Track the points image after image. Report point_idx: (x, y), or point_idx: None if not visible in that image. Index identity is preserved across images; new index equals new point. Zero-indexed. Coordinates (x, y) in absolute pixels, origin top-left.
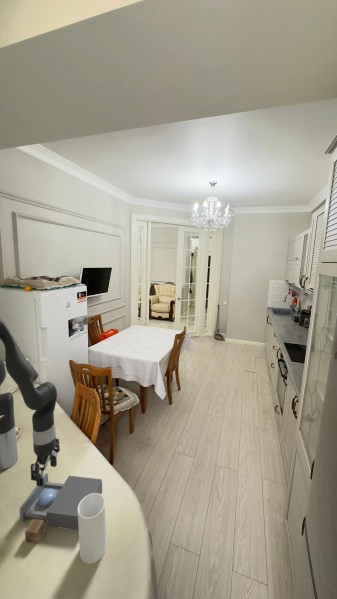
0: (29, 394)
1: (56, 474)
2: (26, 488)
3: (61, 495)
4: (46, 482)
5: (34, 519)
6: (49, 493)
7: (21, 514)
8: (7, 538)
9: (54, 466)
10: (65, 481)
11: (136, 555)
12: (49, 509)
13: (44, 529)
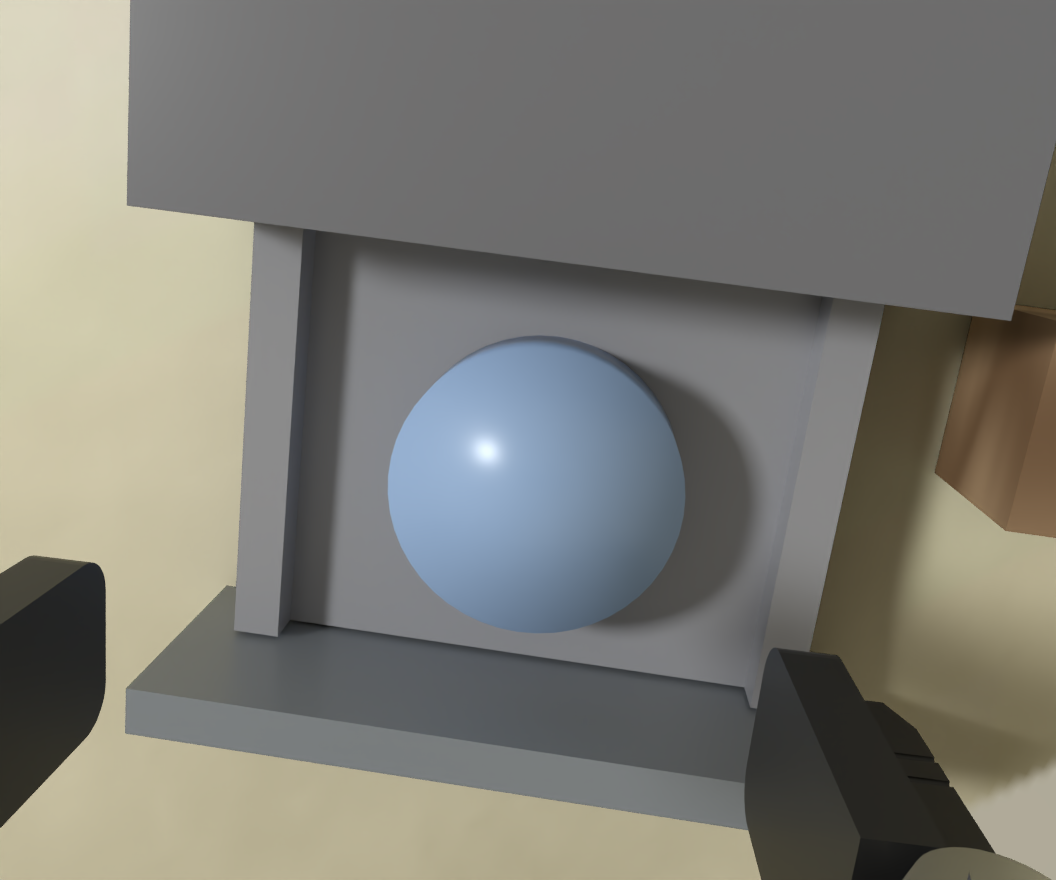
0: None
1: (25, 544)
2: (307, 870)
3: (637, 160)
4: (244, 630)
5: (1018, 501)
6: (488, 473)
7: None
8: (1027, 756)
9: (98, 601)
10: (284, 223)
11: None
12: (956, 281)
13: None
